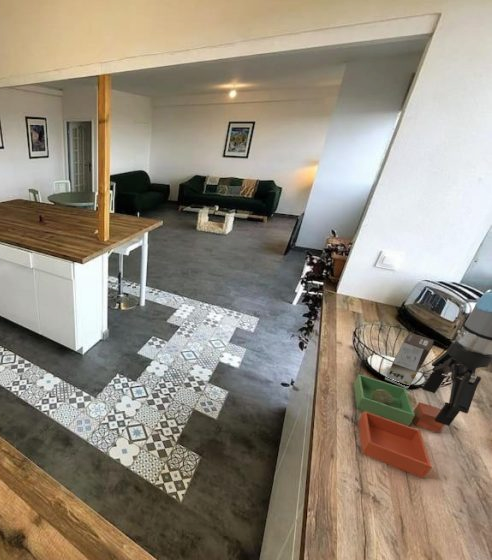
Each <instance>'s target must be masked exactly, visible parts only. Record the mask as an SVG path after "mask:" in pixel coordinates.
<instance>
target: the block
mask: <svg viewBox="0 0 492 560" xmlns="http://www.w3.org/2000/svg"><path fill="white" fill-rule="evenodd" d="M441 409H442V408H440V407H436V406H433V405H430V404H427V403H423V402H422V401H418V403H417V405H416V407H415V408H414V409H413V411H414V414H415V416H414V418H413V422H414V425H415V426H416V427H419V428H422V429H424V430H428V431H430V432H433V433H436V434H440V432H441V431H442V430H443V428H444V427H445V426H446V425H445V424H442V423H439V422H436V421H435V418H436V416H437V415H438V414H439V412H440V411H441Z"/></svg>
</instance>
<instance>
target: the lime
mask: <svg viewBox="0 0 492 560" xmlns="http://www.w3.org/2000/svg"><path fill="white" fill-rule="evenodd" d="M372 399H373V401H376V402H379V403H382V404H385V405H388V406H390V405H392V404H393V400H394V399H393V397H392V395H391V394H390V393H389V392H388V391H386V390H382V389H378V390H375V391H374V392H373V393H372Z"/></svg>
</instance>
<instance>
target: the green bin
mask: <svg viewBox="0 0 492 560" xmlns="http://www.w3.org/2000/svg"><path fill="white" fill-rule="evenodd" d="M353 389H354V390H353V391H354V398H355V405H356V409H357V410H360V411H362V412H364V411H366V412H369V413H371V414H374V415H377V416H380V417H383V418H386V419H389V420H391V421H394V422H397V423H400V424H403V425H406V426H409V427H410V424H411V423H412V422H413V420H414V416H415V414H414V408H413V405H412V402H411V399H410V396H409V394H408V389H406V388H404V387H401V386H399V385H396V384H392V383H389V382H386V381H382V380H379V379H376V378H372V377H369V376H366V375H363V374H359V373H358V374H357V376H356V378H355V380H354V383H353ZM378 389H382V390H386V391H388V392H389V393H390V394H391V395H392V397H393V399H394V400H393V404H392V405H390V406H388V405H385V404H382V403H379V402H376V401H373V399H372V393H373V392H374V391H375V390H378Z"/></svg>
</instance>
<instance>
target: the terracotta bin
mask: <svg viewBox="0 0 492 560" xmlns="http://www.w3.org/2000/svg"><path fill="white" fill-rule="evenodd" d="M358 427H359V429H358V430H359V436H360V437H359V438H360V443H361V444H360V445H361V452H362V455H364V456H367V457H369V458H372V459H375V460H377V461H380V462H382V463H384V464H387V465H389V466H391V467H394V468H397V469H399V470H402V471H403V472H407V473H409V474H411V475H414V476H416V477H419V478H420V479H425V477H426V476H427V475H428V474H429V472H430V471H431V469H432V468H433V466H432V462H431V460H430V457H429V455H428V451H427V448H426V444H425V442H424V439H423V436H422V433H421V430H419V429H417V428H414V427H412V426H410V425H409V426H406V425H403V424H400V423H397V422H395V421H392V420H389V419H386V418H383V417H380V416H377V415H375V414H372V413H369V412H366V411H362V414H361V416H360V418H359V420H358Z"/></svg>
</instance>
